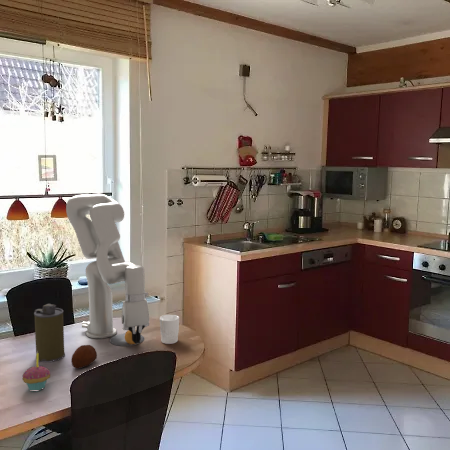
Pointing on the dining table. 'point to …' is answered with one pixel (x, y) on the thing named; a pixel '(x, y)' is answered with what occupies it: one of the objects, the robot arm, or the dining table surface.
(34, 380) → the cupcake
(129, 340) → the ball
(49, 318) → the canister
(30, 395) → the dining table surface
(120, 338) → the disc
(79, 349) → the potato
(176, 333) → the white cup
